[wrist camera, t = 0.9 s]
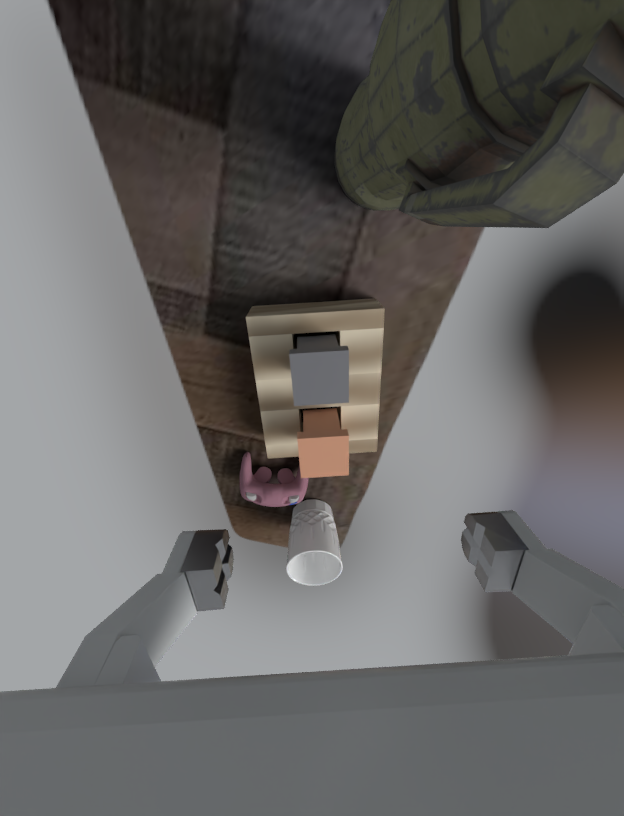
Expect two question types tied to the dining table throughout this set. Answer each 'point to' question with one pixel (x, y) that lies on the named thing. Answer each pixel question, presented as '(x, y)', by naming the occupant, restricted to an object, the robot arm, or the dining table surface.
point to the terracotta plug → (323, 445)
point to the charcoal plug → (319, 371)
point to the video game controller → (271, 485)
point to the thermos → (488, 111)
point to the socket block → (271, 364)
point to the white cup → (313, 544)
